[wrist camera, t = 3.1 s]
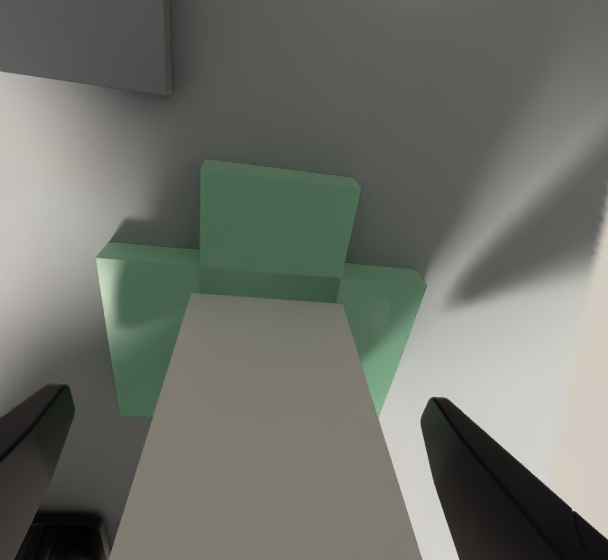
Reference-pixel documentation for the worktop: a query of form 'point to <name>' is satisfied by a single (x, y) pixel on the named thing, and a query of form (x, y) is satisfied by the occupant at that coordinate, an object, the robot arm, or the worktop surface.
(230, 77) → the worktop surface
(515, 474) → the robot arm
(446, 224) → the worktop surface
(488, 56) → the worktop surface
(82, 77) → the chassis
